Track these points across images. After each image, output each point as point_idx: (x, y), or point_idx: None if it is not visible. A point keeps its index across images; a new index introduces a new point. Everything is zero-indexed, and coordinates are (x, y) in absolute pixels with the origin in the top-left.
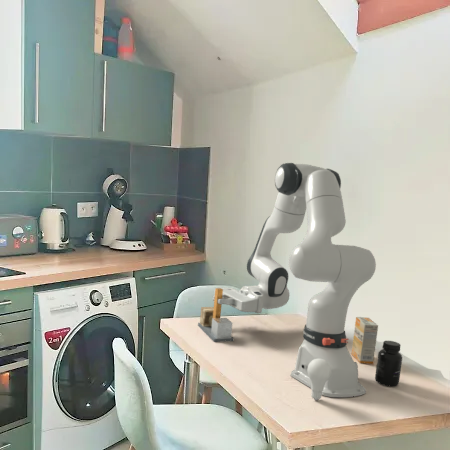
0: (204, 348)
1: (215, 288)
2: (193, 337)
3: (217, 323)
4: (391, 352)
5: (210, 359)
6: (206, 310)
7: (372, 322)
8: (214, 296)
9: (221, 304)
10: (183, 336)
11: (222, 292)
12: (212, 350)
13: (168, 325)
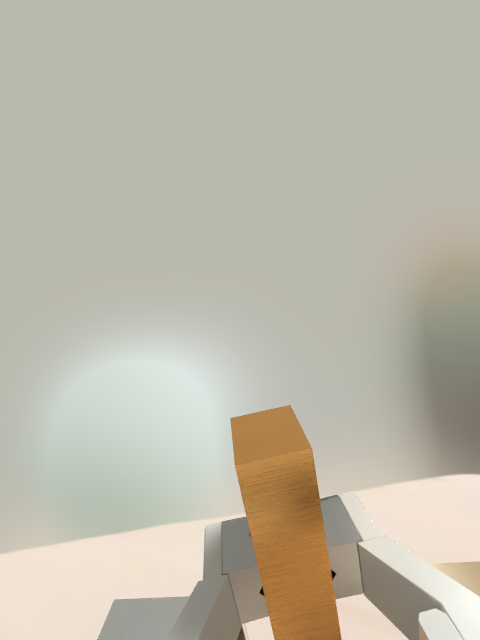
0: (109, 571)
1: (289, 407)
2: None
3: (126, 603)
4: None
5: (10, 561)
6: None
7: None
8: (332, 496)
9: (274, 635)
10: None
11: (244, 503)
12: (66, 604)
13: (417, 480)
